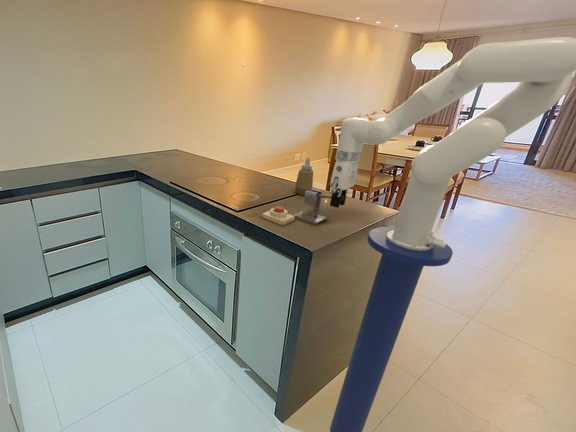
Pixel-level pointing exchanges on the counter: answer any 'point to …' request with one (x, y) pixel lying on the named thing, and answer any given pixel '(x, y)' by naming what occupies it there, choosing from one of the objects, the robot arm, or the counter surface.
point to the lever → (328, 196)
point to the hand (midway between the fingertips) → (337, 204)
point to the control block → (278, 217)
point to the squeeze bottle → (304, 178)
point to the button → (279, 209)
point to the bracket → (311, 208)
